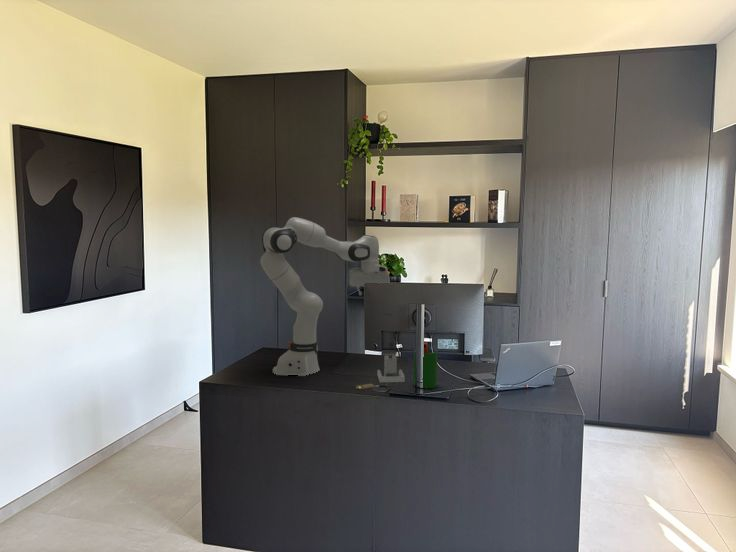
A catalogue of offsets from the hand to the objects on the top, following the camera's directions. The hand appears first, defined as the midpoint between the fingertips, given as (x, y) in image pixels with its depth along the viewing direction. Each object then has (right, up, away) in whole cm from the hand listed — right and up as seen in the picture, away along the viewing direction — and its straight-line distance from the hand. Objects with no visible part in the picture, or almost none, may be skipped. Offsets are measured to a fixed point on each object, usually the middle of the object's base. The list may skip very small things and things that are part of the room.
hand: (369, 295), depth 266 cm
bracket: (+10, -38, -21) cm, 44 cm away
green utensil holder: (+24, -39, -32) cm, 56 cm away
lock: (+9, -38, -21) cm, 44 cm away
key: (-2, -39, -34) cm, 52 cm away
